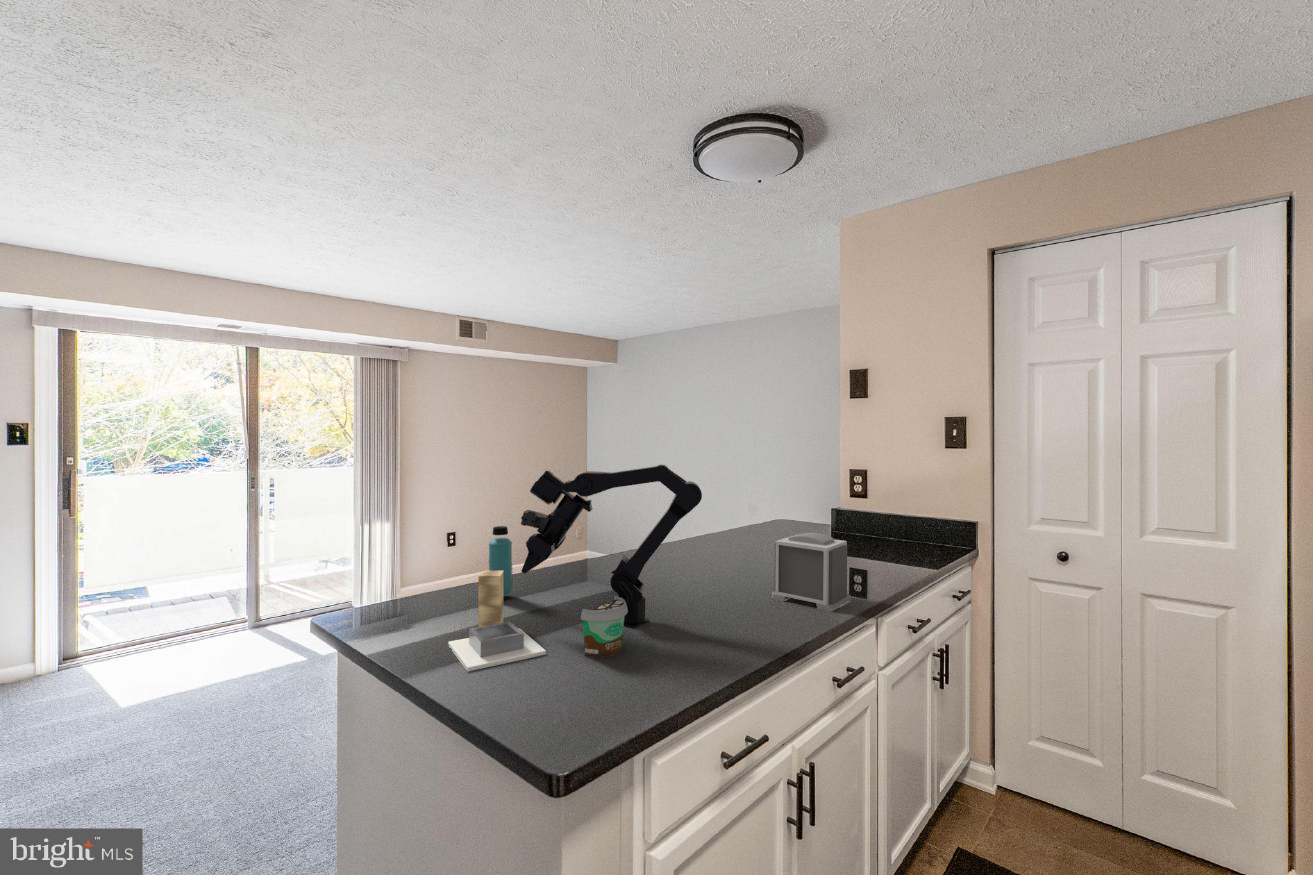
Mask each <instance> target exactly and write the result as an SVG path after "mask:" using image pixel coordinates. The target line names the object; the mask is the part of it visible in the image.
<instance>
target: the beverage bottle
mask: <svg viewBox="0 0 1313 875" xmlns="http://www.w3.org/2000/svg"><path fill="white" fill-rule="evenodd" d="M508 534H509V531H508V527H507V526H506V525H501V526H494V527H493V528H492V535H493V536H506V535H508ZM512 544H513V542H512V540H511V539H509V538H508V537H494V538H492V539H491V540H490V541H489V542H488V571H499V570H504V586H503V596H507V595H510V594H512V592H513V566H514V565H513V561H512V559H513V558H512V557H513V556H512V554H513V551H512V550H513V549H512Z"/></svg>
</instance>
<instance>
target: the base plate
mask: <svg viewBox="0 0 1313 875" xmlns="http://www.w3.org/2000/svg"><path fill="white" fill-rule="evenodd" d="M518 629H519V630H520V631H521V632H523V633H524V649H520V650H515V651H510V652H505V653H501V654H496V655H491V656H486V657H481V658H480V656H479V655H478V654H477V653H476V652H475V650H474V649H473V648H472V647H471V646H470V644H469V637H466V638H461V639H456V640H455V639H454V640H449V641H447V646H448V645H449V646H448V647H449V649H450V648H451V649H452V650H451V649H450V650H451V651H452V653H453V654H454V655H455V657H456V658H457V660H458V661H459V662H460V663H461V665H462V667H463V668H464V669H465V671H466V672H467V673H468V672H472V671H478V670H482V669H486V668H489V667H490V668H491V667H495V666H499V665H504V664H508V663H513V662H518V661H523V660H527V659H531V658H535V657H540V656H546V654H547V652H546V649H544V648H543V647H542V646H541V645H540V644H538V643H537V642H536V641H535V640H534V639H532V637H530V636H529V635H528V634H527V633H526V632H525V631H523V630H522V628H519V627H518Z"/></svg>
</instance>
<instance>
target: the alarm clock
mask: <svg viewBox="0 0 1313 875" xmlns="http://www.w3.org/2000/svg"><path fill="white" fill-rule="evenodd" d="M847 543H848V542H847V540H842V539H841V540H840V539H835V538H834V537H831V536H829V535H826V534H823V533H820V532H804V533H799V534H795V535H792V536H788V537H785V538H782V539H778V540H775V542H774V591H772V592H771V599H772V598H774V599H781V600H785V599H788V598H792V599H795V600H800V601H806V602H809V603H810V602H811V603H815V604H816V606H820V607H824V608H837V607H838V606H840V605H841V604H844V603H846V602H847V601H850V600H851V601H852V596H851V595H850V594H848V545H847Z"/></svg>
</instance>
